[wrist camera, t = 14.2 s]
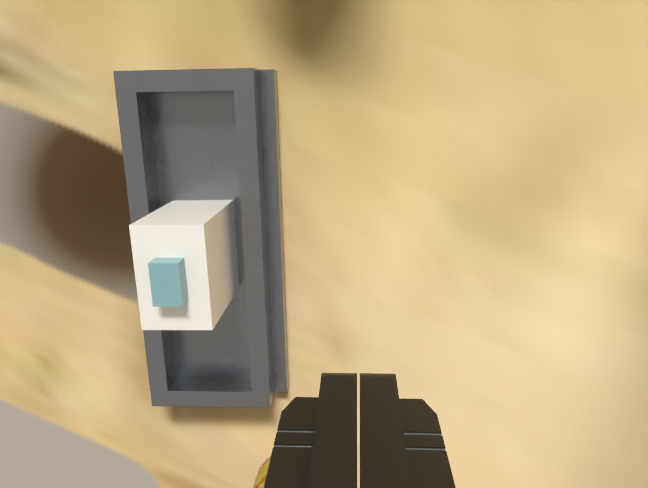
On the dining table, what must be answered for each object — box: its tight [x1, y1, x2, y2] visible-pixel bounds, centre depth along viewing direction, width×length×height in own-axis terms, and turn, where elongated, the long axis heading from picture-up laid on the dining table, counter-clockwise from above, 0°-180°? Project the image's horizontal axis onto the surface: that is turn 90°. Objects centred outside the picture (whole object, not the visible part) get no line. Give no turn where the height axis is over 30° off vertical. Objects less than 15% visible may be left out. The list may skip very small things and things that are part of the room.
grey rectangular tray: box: [114, 68, 289, 408], centre depth 35 cm, size 22×10×3 cm, turn 1°
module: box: [129, 200, 239, 330], centre depth 32 cm, size 6×4×8 cm, turn 1°
